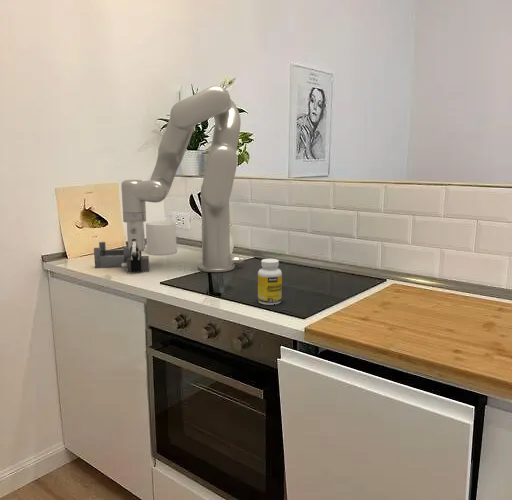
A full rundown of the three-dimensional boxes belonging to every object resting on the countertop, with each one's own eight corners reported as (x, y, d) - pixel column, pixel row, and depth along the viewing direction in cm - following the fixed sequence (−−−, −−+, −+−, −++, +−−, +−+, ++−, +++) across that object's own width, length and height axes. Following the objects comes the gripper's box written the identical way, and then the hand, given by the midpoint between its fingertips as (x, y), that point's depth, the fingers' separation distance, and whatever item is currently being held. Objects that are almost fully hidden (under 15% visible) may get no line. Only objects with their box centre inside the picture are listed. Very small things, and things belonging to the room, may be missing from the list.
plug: (149, 268, 176) (148, 255, 176) (148, 271, 172) (148, 258, 171) (122, 269, 175) (121, 256, 174) (121, 273, 170) (120, 260, 169)
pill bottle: (261, 306, 134) (261, 263, 132) (255, 299, 140) (255, 258, 138) (284, 304, 136) (285, 262, 133) (277, 297, 142) (277, 257, 139)
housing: (133, 259, 191) (132, 241, 189) (130, 266, 179) (129, 247, 177) (100, 260, 189) (99, 241, 188) (95, 268, 177) (93, 248, 176)
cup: (152, 256, 196) (150, 225, 193) (143, 251, 206) (142, 222, 203) (180, 253, 201) (179, 223, 199) (171, 248, 211) (169, 219, 209)
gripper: (144, 220, 162) (146, 275, 166) (147, 213, 178) (149, 263, 182) (119, 220, 161) (122, 276, 165) (125, 213, 177) (128, 264, 181)
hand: (137, 269), depth 173 cm, fingers closed on plug, 5 cm apart
